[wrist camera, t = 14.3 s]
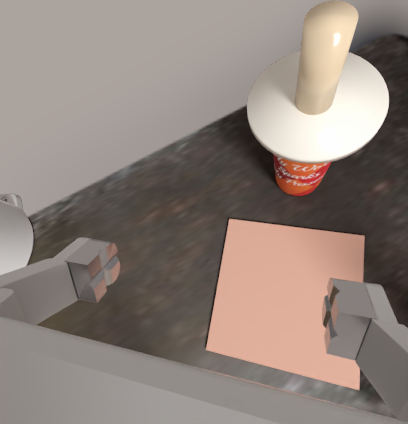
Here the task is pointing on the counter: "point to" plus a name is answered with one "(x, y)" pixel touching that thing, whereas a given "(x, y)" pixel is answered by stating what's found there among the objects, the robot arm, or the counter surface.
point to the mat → (282, 297)
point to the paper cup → (298, 176)
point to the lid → (319, 93)
